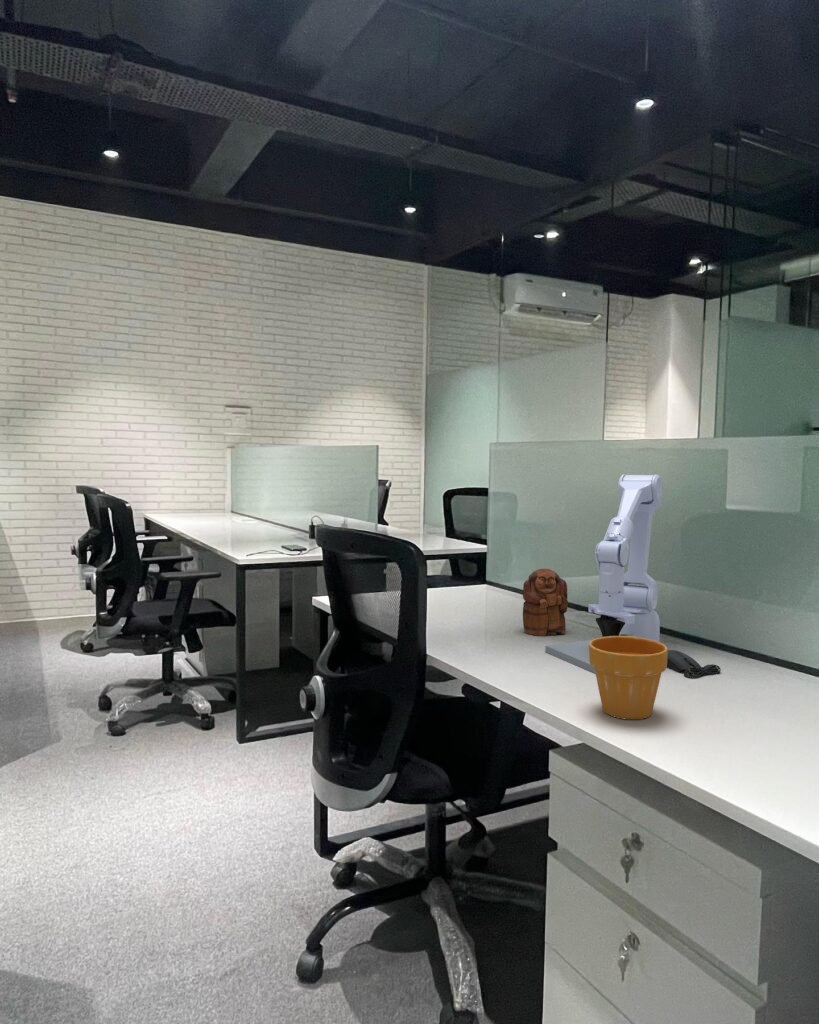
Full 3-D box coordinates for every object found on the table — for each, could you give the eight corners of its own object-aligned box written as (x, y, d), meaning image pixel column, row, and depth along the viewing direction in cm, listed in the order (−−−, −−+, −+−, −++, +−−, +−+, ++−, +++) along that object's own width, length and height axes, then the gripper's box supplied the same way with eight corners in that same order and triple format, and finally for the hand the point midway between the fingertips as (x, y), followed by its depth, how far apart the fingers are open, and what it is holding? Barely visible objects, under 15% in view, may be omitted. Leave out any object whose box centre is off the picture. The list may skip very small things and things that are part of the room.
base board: (597, 645, 185) (597, 631, 185) (664, 670, 163) (664, 654, 163) (545, 651, 179) (545, 637, 178) (607, 678, 157) (607, 662, 156)
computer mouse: (674, 659, 173) (675, 643, 173) (724, 675, 160) (724, 658, 160) (643, 664, 169) (643, 648, 169) (691, 681, 156) (691, 664, 156)
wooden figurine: (528, 637, 194) (529, 571, 193) (521, 631, 200) (521, 567, 199) (570, 635, 196) (570, 570, 195) (561, 629, 202) (561, 566, 201)
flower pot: (621, 730, 126) (623, 658, 125) (573, 705, 139) (573, 640, 138) (683, 718, 132) (684, 649, 131) (630, 696, 145) (631, 632, 144)
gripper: (578, 587, 174) (577, 642, 175) (617, 597, 161) (616, 657, 162) (602, 585, 177) (601, 639, 178) (642, 595, 164) (641, 653, 165)
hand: (610, 647), depth 170 cm, fingers closed
